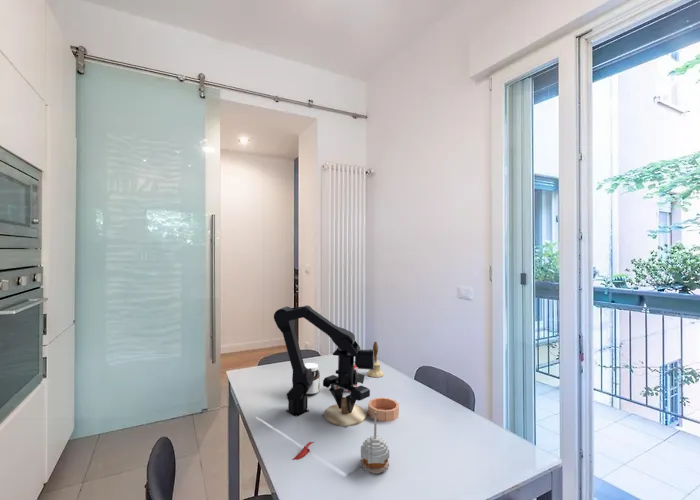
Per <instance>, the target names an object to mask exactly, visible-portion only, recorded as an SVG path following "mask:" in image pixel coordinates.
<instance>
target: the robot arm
mask: <svg viewBox="0 0 700 500" xmlns="http://www.w3.org/2000/svg"><path fill="white" fill-rule="evenodd" d="M301 318H304V319H305V320H306V321H308V322H309V323H311V324H312V325H313V326H315V328H317V329H319V330H320V331H321V332H323V333H324V334H326V335H327V336H328V337H329V338H330V339H331V340H332V343H334V344H335V345H336V346H337V348H336V349H335V350H334V351H333V352H332V356H337V357H338V358H337V360H338V361H337V362H338V363H337V370H335V375H334V374H332V375H329V376H327V377H324V379H323V380H322V386H323V387H325V388H327V389H328V388H329V389H328V390H329V391H330V393H331V395H332V396H333V398H334V400H335V404H337V405H338V407H339V409H341V407H342V398H343V397H344V392H345V391H344V389H345V390H347V391H350V392H349V394H348V395H346V396H345V397H346V401H347V407H348V412H349V413H351V412H352V410H353V407H354V405H356V402H357V401H359V402H360V401H363V400H364V399H366V398H369V397H370V395H371V389H369V388H368V387H366V386H365V385H358V383H359V384H364V381H365V377H366V375H365V374H363V373H360V372H358V369H359V370H368V371H369V370H374V363H375V357H374V350H373V349H361V346H360V345H359V344H358V343H357V341H356V337H355V334H354V333H353V332H352V331H349V330H348V329H346V328H343V327H340V326H338V325H335V324H334V323H333V322H331V321H330V320H328V318H326V317H324V316H323V315H322V314H320V313H319V312H317V311H316V310H314V309H313V308H312V307H311V306H310V305H303V306H296V307H291V306H283V307H281V308H279V309H276V311H275V312H274V314H273V321H274V323H275V324H276V327H277V328H278V329H279V330H280V332H281V334H282V336H283V339H284V344H285V347H286V351H287V355H288V357H289V361H290V365H291V369H292V376H291V382H292V384H291V385H292V386H291V388H290V390H289V391H288V392H287V393H286V397H287V401H288V402H287V405H288V406H287V409H285V412H286V413H288V414H290V415H291V416H293V417H300V416H301V415H304V414H307V413H309V412H310V410H309V409H308V396H307V394H306V393H307V392H308V390H309V389H310V387H311V386H312V384H313V379H314V377H313V375H312V370H311V368H310V369H307V368H306V367H305V365H304V364H305V363H304V360H303V355H302V352H301V348H300V344H299V341H298V338H297V334H296V329H295V327H296V320H298V319H301ZM354 361H355V366H356V367H357V371H356V370H355V369H354ZM336 374H337V375H336ZM356 384H357V387H353V385H356Z"/></svg>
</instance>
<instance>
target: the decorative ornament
mask: <svg viewBox="0 0 700 500" xmlns="http://www.w3.org/2000/svg"><path fill="white" fill-rule="evenodd" d="M373 420H374V423H373V435H370V436H369V437H366V439H364V441H363V442H362V445H360V458H361V459H360V466H361V467H362V469H363V470H365V471H366V472H368V473H371V474H381V473H384V472H385V471H387V470H388V469H389V467H390V462H389V459H390V447H389V445H388V443H387V441H385V439H384V438H383V437H379V435H377V422H378V420H377V412H374V419H373Z"/></svg>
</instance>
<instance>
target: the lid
mask: <svg viewBox="0 0 700 500" xmlns="http://www.w3.org/2000/svg"><path fill="white" fill-rule="evenodd" d="M324 414H325V417H324V419H325V420H326V422H328V423H330V424H332V425H335V426H339V427H343V426H348V427H353V426H357V425H359V424H361V423H364V421H365V420H366V419H367V417H366V414H367V412H366V409H365V408H363V407H362V406H360V405H358V404H355V405H354V407H353V410H352V412H351V413H349V412H348V407H347V401H346V396H345V397H344V396H343V398H342V407H341V409H339V407H338V405H337V403H335V404H332V405H329V406H328V407H327V408H326V409H325V411H324Z"/></svg>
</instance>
